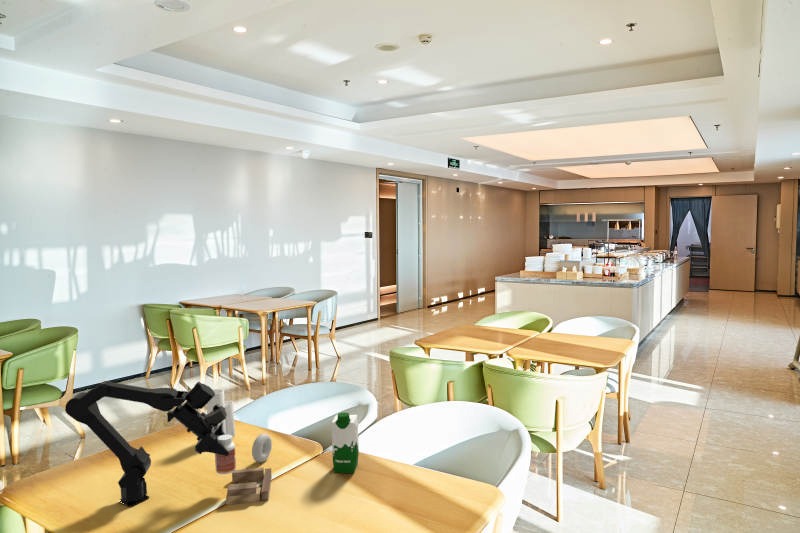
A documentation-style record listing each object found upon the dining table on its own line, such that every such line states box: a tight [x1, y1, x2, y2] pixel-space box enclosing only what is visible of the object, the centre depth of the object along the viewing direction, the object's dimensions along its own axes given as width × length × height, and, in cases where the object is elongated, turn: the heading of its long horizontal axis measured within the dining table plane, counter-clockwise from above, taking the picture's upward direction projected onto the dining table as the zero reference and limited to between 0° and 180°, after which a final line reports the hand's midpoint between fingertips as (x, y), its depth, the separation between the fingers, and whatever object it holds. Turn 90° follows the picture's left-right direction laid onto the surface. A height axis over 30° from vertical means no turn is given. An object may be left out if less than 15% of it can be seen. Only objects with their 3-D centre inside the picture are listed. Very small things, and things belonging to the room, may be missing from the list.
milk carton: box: [331, 412, 360, 474], centre depth 188 cm, size 9×9×20 cm
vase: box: [206, 388, 236, 438], centre depth 217 cm, size 11×7×20 cm, turn 160°
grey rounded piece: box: [251, 433, 273, 463], centre depth 196 cm, size 10×4×10 cm, turn 161°
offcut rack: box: [225, 467, 273, 505], centre depth 175 cm, size 12×16×4 cm
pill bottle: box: [214, 435, 237, 475], centre depth 174 cm, size 6×6×11 cm
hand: (229, 450), depth 174 cm, fingers closed on pill bottle, 6 cm apart
